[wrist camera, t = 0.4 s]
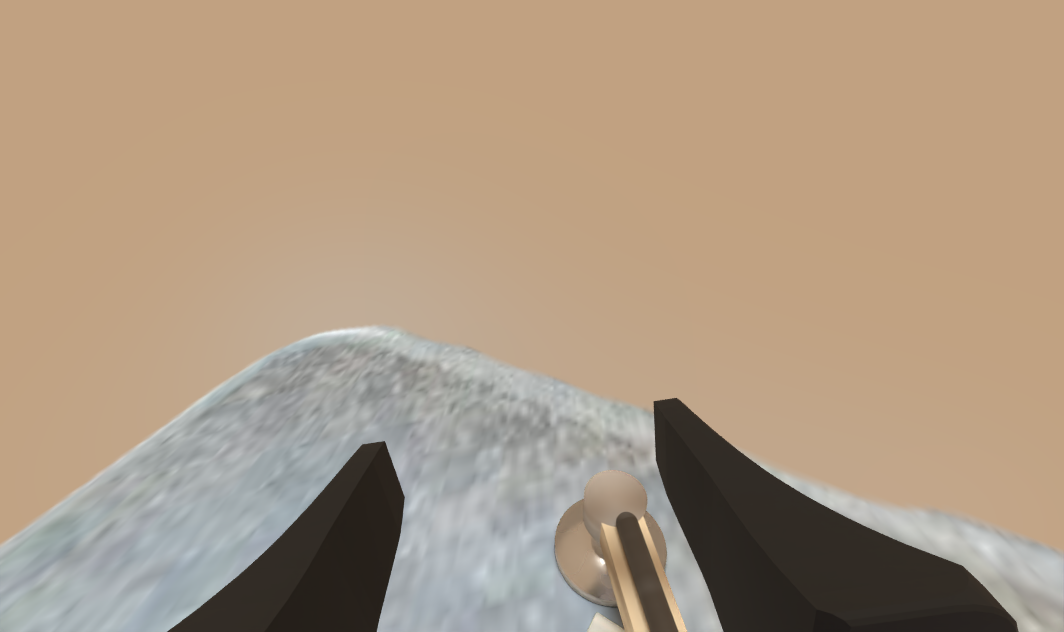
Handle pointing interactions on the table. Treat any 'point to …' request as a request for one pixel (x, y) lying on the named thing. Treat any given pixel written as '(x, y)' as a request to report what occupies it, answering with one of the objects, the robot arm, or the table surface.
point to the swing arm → (630, 553)
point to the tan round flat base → (591, 556)
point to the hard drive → (603, 625)
